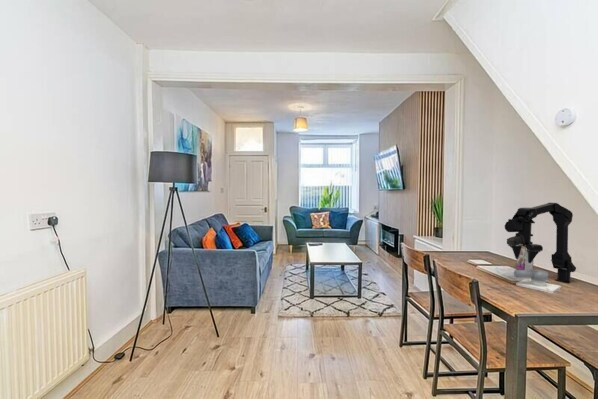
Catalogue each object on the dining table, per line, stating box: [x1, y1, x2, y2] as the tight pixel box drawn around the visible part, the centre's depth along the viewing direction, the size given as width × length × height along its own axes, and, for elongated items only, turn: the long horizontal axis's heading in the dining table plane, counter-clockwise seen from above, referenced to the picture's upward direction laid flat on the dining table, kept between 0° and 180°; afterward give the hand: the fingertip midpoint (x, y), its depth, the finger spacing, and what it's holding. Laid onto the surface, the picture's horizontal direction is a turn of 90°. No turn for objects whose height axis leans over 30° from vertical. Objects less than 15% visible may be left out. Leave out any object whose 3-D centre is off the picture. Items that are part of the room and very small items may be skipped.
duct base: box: [515, 278, 562, 294], centre depth 174 cm, size 13×16×4 cm
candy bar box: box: [515, 246, 534, 270], centre depth 202 cm, size 11×5×16 cm, turn 168°
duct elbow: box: [513, 268, 549, 282], centre depth 174 cm, size 15×8×4 cm, turn 83°
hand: (523, 260), depth 177 cm, fingers open, 9 cm apart
